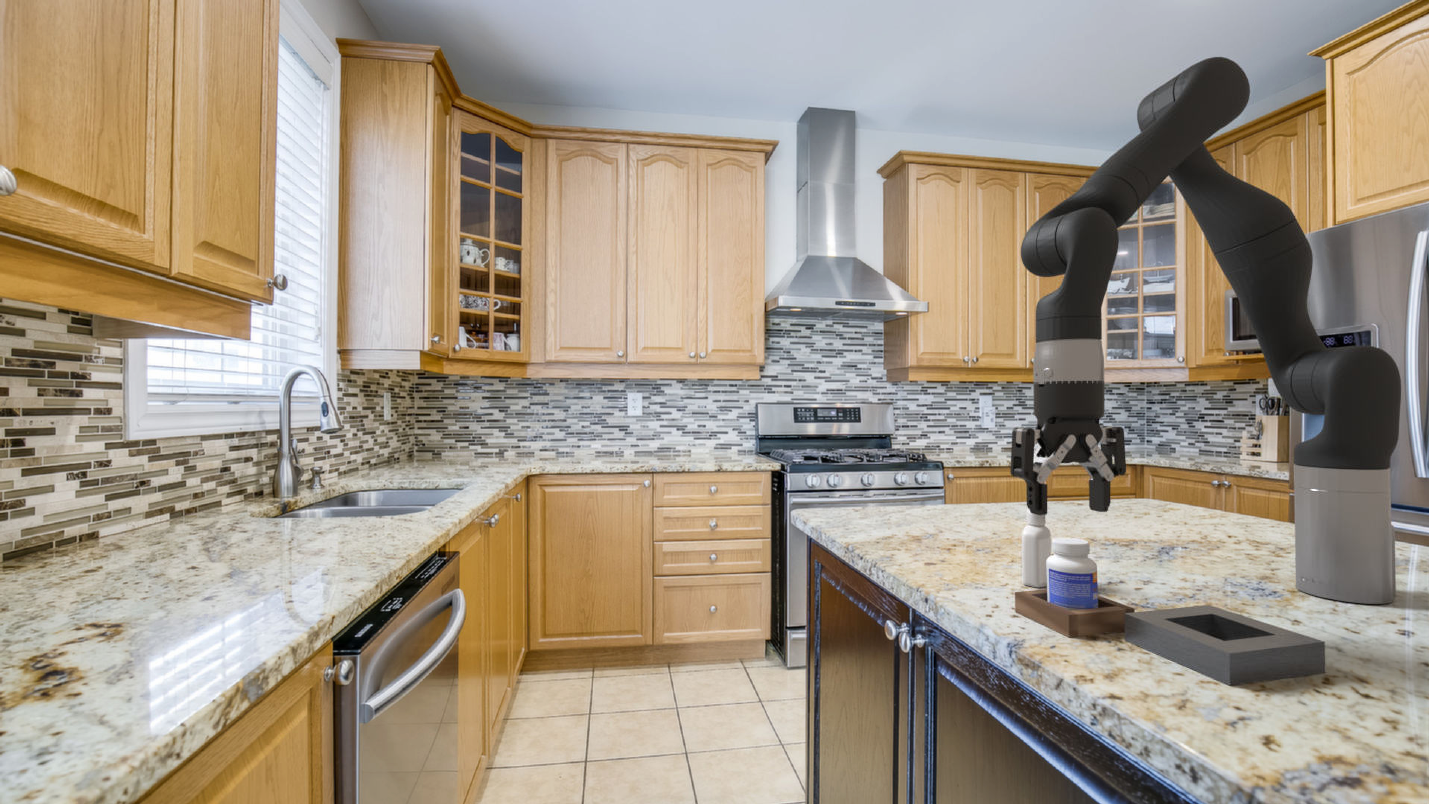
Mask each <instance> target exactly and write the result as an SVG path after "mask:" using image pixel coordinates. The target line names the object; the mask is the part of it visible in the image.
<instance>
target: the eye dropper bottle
mask: <svg viewBox="0 0 1429 804" xmlns="http://www.w3.org/2000/svg"><path fill="white" fill-rule="evenodd" d="M1026 523H1027V524H1026V526H1025V527H1024V528H1023V529H1022V531H1021V532H1022V533H1021V565H1022V566H1021V570H1022V571H1021V574H1022V575H1021V576H1022V577H1021V578H1022V580H1021V581H1022V584H1023V585H1025V586H1027V587H1031V588H1032V587H1033V588H1044V587H1047V572H1046V561H1047V559H1048V558H1049V557H1050V556H1052V534H1051V531H1050V529H1049V527H1047V526H1045V525H1046V515H1037V514H1033V513H1031V512H1030V510H1029V509H1028V508H1027V509H1026Z"/></svg>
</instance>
